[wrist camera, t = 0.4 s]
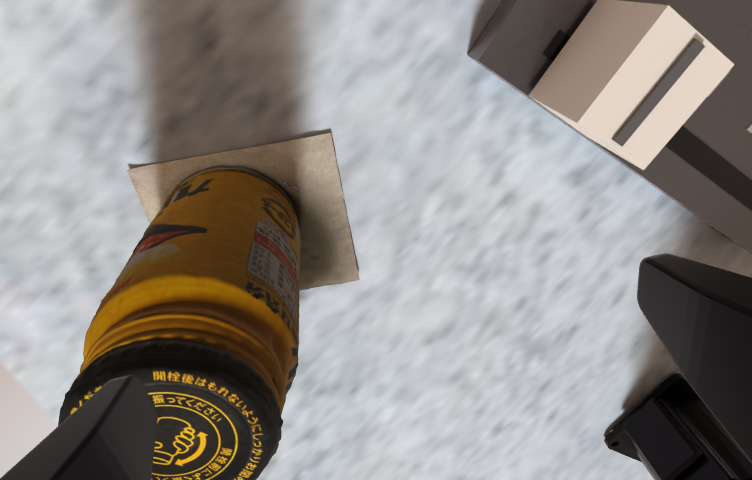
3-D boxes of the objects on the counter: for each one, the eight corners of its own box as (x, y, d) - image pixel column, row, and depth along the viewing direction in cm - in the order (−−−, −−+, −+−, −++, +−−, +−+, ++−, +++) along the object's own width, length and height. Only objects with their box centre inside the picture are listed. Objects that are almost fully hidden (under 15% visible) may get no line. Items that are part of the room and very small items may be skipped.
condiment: (128, 168, 21) (-52, 368, 10) (330, 131, 21) (355, 290, 11) (186, 309, 24) (95, 565, 14) (359, 276, 25) (398, 502, 14)
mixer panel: (965, 11, 22) (1011, 14, 21) (735, 243, 26) (759, 258, 25) (711, -319, 16) (751, -348, 14) (467, 55, 20) (479, 61, 19)
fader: (656, 47, 19) (738, 65, 16) (586, 136, 21) (646, 171, 17) (598, -2, 18) (671, 5, 15) (528, 95, 20) (579, 124, 16)
